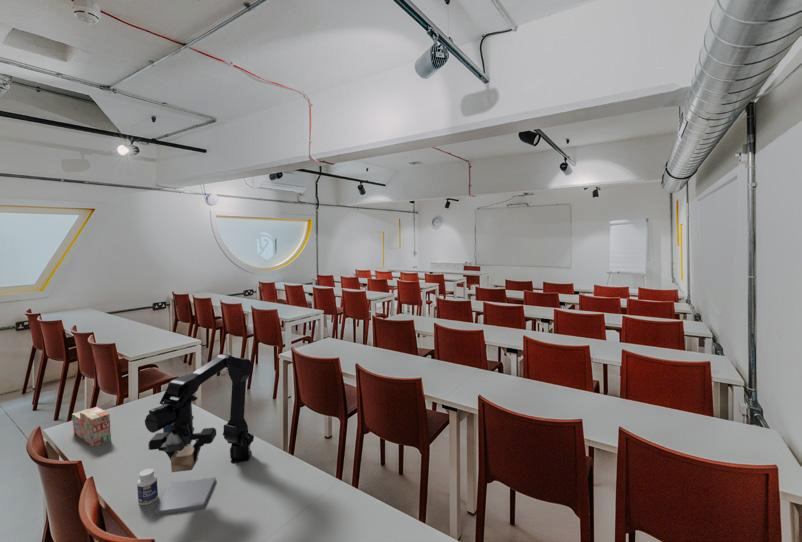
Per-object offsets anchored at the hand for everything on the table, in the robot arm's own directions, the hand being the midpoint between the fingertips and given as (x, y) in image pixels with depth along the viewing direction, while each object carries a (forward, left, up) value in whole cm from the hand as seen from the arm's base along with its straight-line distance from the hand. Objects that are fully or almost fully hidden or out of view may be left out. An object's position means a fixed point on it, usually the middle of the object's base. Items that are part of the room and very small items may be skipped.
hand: (185, 462), depth 123 cm
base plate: (0, 0, -12) cm, 12 cm away
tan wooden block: (0, 0, -1) cm, 1 cm away
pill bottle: (+12, -1, -12) cm, 17 cm away
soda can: (+18, -39, -12) cm, 44 cm away
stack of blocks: (+54, -50, -12) cm, 75 cm away
